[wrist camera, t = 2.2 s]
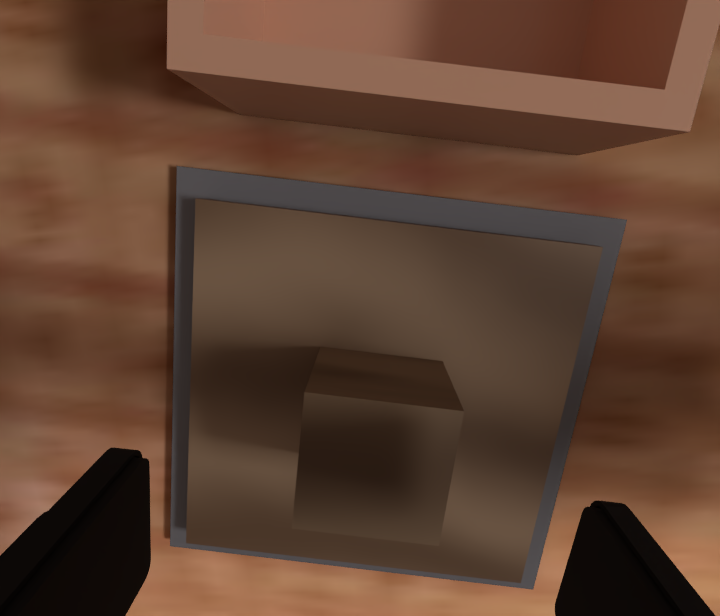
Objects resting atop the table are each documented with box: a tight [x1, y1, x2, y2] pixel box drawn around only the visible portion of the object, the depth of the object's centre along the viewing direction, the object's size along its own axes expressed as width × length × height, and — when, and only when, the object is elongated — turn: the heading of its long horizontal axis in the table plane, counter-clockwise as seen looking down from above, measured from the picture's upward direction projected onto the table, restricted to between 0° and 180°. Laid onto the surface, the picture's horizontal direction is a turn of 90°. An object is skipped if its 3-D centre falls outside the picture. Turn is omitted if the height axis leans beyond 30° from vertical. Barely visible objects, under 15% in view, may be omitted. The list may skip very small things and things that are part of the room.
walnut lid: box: [186, 198, 603, 583], centre depth 15 cm, size 14×14×5 cm
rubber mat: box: [170, 166, 627, 589], centre depth 18 cm, size 16×16×1 cm
